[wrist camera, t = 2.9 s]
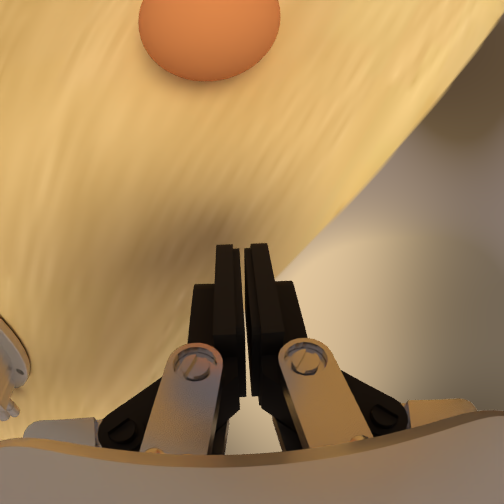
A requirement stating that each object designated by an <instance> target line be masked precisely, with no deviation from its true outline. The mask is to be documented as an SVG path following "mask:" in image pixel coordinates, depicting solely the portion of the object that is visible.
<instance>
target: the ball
mask: <svg viewBox="0 0 504 504" xmlns="http://www.w3.org/2000/svg"><path fill="white" fill-rule="evenodd" d="M138 23H139V32H140V36H141V40H142V42H143V45H144V47H145V49H146V51H147V52H148V54H149V55H150V56H151V58H152V59H153V60H154V61H155V62H156V63H157V64H158V65H159V66H161V67H162V68H164V69H165V70H167V71H168V72H170V73H172V74H174V75H177V76H179V77H182V78H185V79H190V80H196V81H216V80H222V79H227V78H230V77H233V76H236V75H238V74H240V73H242V72H245V71H246V70H248V69H249V68H251V67H253V66H254V65H255V64H256V63H258V62H259V61H260V60H261V59H262V58H263V57H264V56H265V55H266V53H267V52H268V51H269V49H270V48H271V47H272V45H273V43H274V41H275V39H276V36H277V34H278V30H279V26H280V7H279V2H278V0H143V2H142V5H141V8H140V12H139V22H138Z"/></svg>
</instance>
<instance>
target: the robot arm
mask: <svg viewBox="0 0 504 504" xmlns="http://www.w3.org/2000/svg"><path fill="white" fill-rule="evenodd" d="M244 262H245V316H246V329H247V343H248V355H249V369H250V381H251V393H252V396H258V398H259V405H261V408H262V409H263V410H265V411H266V412H268V413H269V414H271V415H272V419H273V424H274V427H275V430H276V433H277V436H278V440H279V442H280V446H281V449H282V452H274V453H260V454H242V455H225V450H226V443H227V435H228V429H229V418H230V417H232V416H233V415H234V414H235V413H236V412H237V411H238V410H240V403H239V397H246V364H245V363H246V361H245V327H244V312H243V298H242V283H241V267H240V252H239V248H238V249H233V244H229V245H216V263H215V284H195V285H194V289H193V297H192V306H191V315H190V325H189V335H188V344H186V345H183V346H181V347H179V348H177V349H176V350H175V351H174V352H173V353H172V354H171V355H170V357H169V359H168V361H167V364H166V367H165V370H164V373H163V376H162V377H161V378H160V379H158V380H157V381H156V382H154V383H153V384H151V385H150V386H149V387H147V388H146V389H144V390H143V391H141V392H140V393H139V394H137V395H136V396H134V397H133V398H131V399H130V400H128V401H127V402H126V403H124V404H123V405H121V406H120V407H118V408H117V409H115V410H114V411H112V412H111V413H109V414H108V415H107V416H106V417H105V418H104V419H102V420H96V419H95V418H94V417H91V418H79V419H64V420H43V421H37V422H33V423H32V424H31V425H29V426H28V427H27V429H26V430H25V432H24V436H23V438H14V439H7V440H2V441H0V504H504V411H500V410H482V411H477V410H476V407H475V406H474V405H473V404H472V403H471V402H470V401H468V400H466V399H460V398H457V399H441V400H408V401H407V403H402V404H401V403H400V402H398V401H397V400H395V399H394V398H392V397H390V396H388V395H386V394H384V393H382V392H380V391H379V390H377V389H375V388H373V387H371V386H369V385H367V384H365V383H363V382H361V381H359V380H358V379H356V378H354V377H352V376H350V375H349V374H347V373H345V372H343V371H342V370H340V368H339V366H338V364H337V362H336V360H335V358H334V356H333V354H332V352H331V351H330V350H329V348H328V347H327V346H326V345H324V344H323V343H322V342H320V341H317V340H315V339H310V338H307V334H306V330H305V326H304V322H303V318H302V314H301V311H300V307H299V303H298V299H297V295H296V292H295V288H294V285H293V282H292V281H275V280H274V274H273V269H272V265H271V260H270V255H269V250H268V245H267V243H259V244H251V246H250V248H244ZM29 373H30V363H29V359H28V356H27V354H26V352H25V349H24V348H23V346H22V344H21V343H20V341H19V340H18V338H17V337H16V336H15V334H14V333H13V332H12V330H11V329H10V328H9V327H8V326H7V325H6V324H5V322H4V321H3V320H2V319H1V318H0V420H1V421H6V420H8V419H9V417H10V415H11V416H12V417H17V416H18V415H19V413H20V410H19V408H18V407H17V405H16V404H15V403H14V402H13V401H12V400H11V399H10V397H11V394H12V392H13V389H14V388H19V387H21V386H23V385H24V384H25V382H26V381H27V378H28V376H29Z"/></svg>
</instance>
